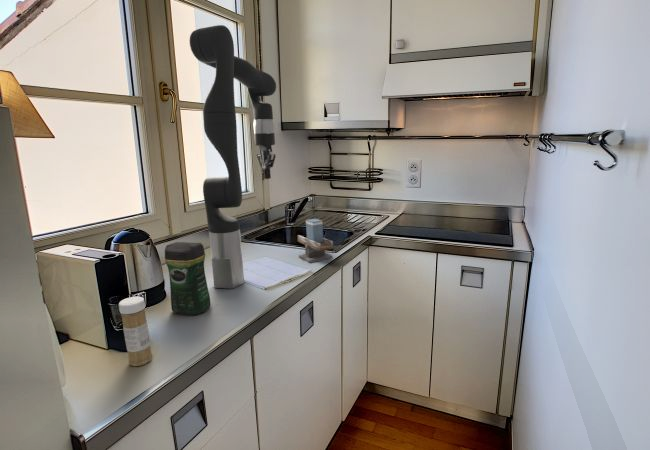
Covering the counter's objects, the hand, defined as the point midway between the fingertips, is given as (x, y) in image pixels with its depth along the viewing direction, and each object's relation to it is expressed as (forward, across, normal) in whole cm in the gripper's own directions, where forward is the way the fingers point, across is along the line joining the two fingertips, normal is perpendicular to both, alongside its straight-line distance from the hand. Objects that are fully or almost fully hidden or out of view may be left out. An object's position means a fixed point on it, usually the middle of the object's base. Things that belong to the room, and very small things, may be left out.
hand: (267, 178), depth 146 cm
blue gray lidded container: (+23, +18, +9) cm, 31 cm away
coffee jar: (+29, +37, -40) cm, 62 cm away
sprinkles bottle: (+29, +56, -55) cm, 83 cm away
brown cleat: (+29, +18, +9) cm, 36 cm away
